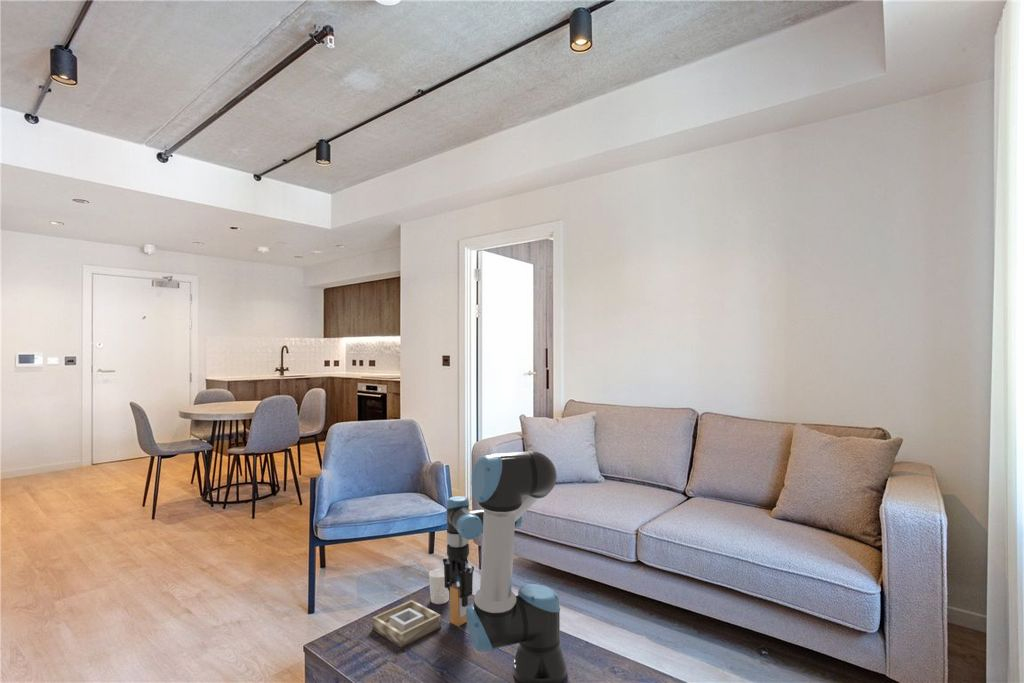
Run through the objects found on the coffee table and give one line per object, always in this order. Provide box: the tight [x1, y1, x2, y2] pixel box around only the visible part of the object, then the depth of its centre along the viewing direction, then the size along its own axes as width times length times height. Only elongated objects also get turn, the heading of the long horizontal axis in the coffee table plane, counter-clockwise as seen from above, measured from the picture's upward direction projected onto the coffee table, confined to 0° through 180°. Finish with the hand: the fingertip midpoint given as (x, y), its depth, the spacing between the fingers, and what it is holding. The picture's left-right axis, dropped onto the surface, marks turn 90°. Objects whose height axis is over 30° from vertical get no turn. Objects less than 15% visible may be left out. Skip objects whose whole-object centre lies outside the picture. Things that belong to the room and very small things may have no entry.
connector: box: [449, 580, 467, 627], centre depth 174 cm, size 4×4×13 cm
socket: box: [390, 608, 424, 632], centre depth 170 cm, size 8×8×3 cm
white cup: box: [428, 567, 450, 605], centre depth 189 cm, size 8×8×10 cm
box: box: [371, 599, 442, 648], centre depth 170 cm, size 16×16×4 cm
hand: (458, 612), depth 173 cm, fingers closed on connector, 4 cm apart
